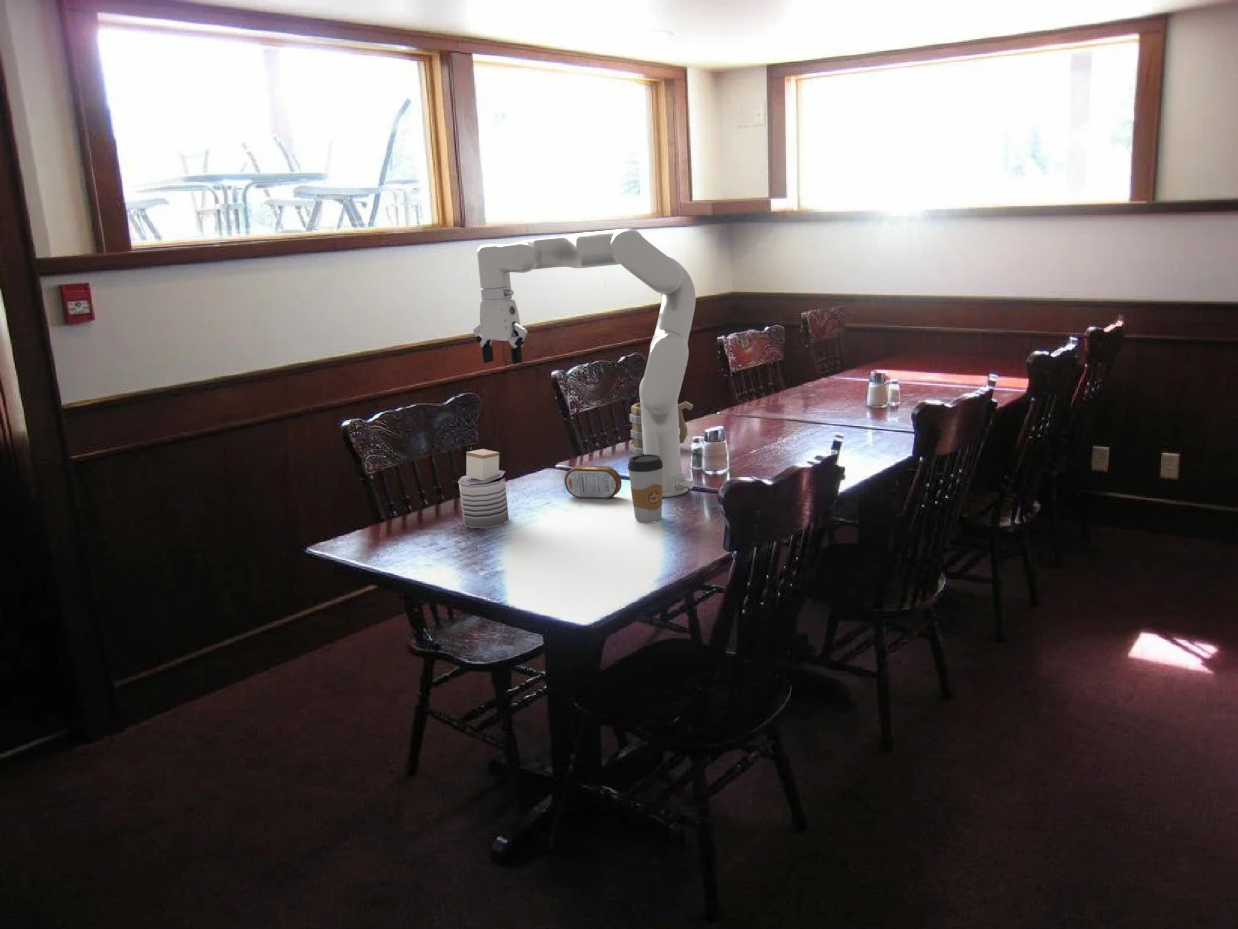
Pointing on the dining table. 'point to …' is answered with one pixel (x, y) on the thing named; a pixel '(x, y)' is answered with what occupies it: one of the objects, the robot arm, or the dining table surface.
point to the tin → (593, 482)
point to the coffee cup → (646, 487)
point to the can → (484, 501)
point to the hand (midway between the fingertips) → (502, 362)
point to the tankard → (637, 426)
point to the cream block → (482, 464)
